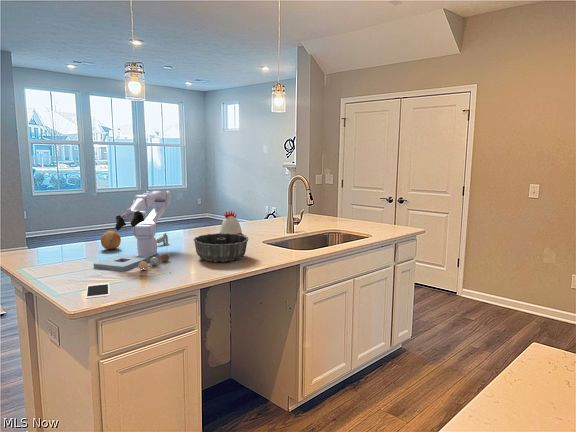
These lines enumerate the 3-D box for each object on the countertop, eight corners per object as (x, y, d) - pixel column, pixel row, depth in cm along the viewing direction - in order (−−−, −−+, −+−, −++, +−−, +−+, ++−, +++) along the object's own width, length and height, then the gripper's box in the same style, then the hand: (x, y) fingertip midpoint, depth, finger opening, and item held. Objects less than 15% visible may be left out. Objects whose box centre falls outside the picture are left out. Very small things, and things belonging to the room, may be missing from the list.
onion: (104, 252, 214) (103, 233, 213) (98, 249, 222) (97, 230, 220) (123, 249, 220) (122, 231, 219) (117, 246, 228) (116, 228, 226)
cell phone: (109, 284, 164) (109, 282, 164) (109, 296, 150) (109, 295, 150) (87, 286, 161) (87, 284, 161) (85, 299, 147) (85, 297, 147)
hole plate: (121, 258, 202) (121, 254, 202) (149, 261, 198) (149, 257, 197) (93, 267, 185) (93, 263, 185) (123, 271, 181) (123, 266, 180)
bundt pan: (259, 256, 209) (259, 236, 208) (225, 268, 187) (225, 246, 185) (218, 249, 223) (217, 231, 221) (182, 260, 200) (181, 239, 199)
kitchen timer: (217, 233, 268) (216, 210, 265) (237, 231, 273) (237, 209, 271) (223, 237, 255) (222, 213, 253) (244, 235, 261) (244, 211, 259)
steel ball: (153, 264, 192) (153, 255, 192) (161, 265, 191) (160, 256, 190) (148, 266, 188) (147, 257, 188) (155, 267, 187) (155, 258, 187)
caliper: (166, 243, 237) (166, 232, 236) (168, 243, 237) (167, 232, 236) (138, 250, 220) (137, 239, 219) (139, 251, 219) (139, 239, 218)
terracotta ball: (142, 268, 185) (142, 259, 184) (150, 269, 184) (149, 260, 183) (136, 271, 181) (136, 262, 180) (144, 272, 180) (144, 262, 179)
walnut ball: (163, 260, 200) (163, 251, 199) (171, 260, 199) (170, 252, 198) (158, 262, 196) (158, 253, 195) (166, 262, 195) (165, 254, 194)
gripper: (118, 206, 196) (105, 222, 184) (145, 200, 193) (134, 216, 182) (125, 219, 199) (113, 235, 188) (152, 212, 197) (142, 229, 185)
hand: (124, 227), depth 185 cm, fingers open, 7 cm apart
